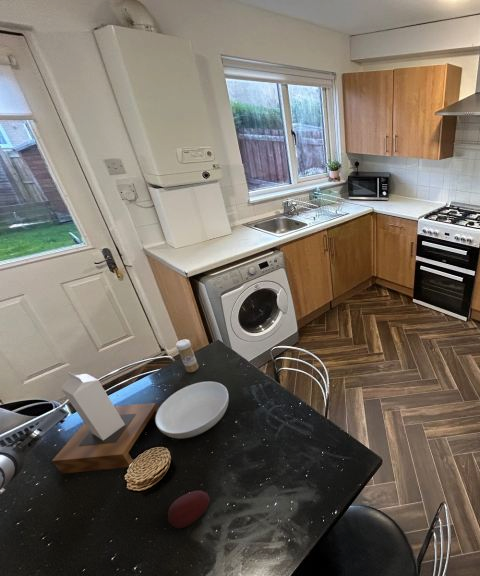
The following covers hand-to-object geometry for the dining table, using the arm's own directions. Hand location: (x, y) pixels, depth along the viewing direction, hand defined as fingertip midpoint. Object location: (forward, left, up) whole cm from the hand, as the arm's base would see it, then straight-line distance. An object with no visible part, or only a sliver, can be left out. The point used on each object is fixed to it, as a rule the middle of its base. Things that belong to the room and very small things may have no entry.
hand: (33, 437), depth 77 cm
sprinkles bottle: (+15, +43, -20) cm, 49 cm away
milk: (+5, +12, -13) cm, 18 cm away
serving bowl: (+27, +18, -20) cm, 38 cm away
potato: (+37, -12, -20) cm, 43 cm away
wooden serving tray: (+5, +12, -19) cm, 23 cm away
